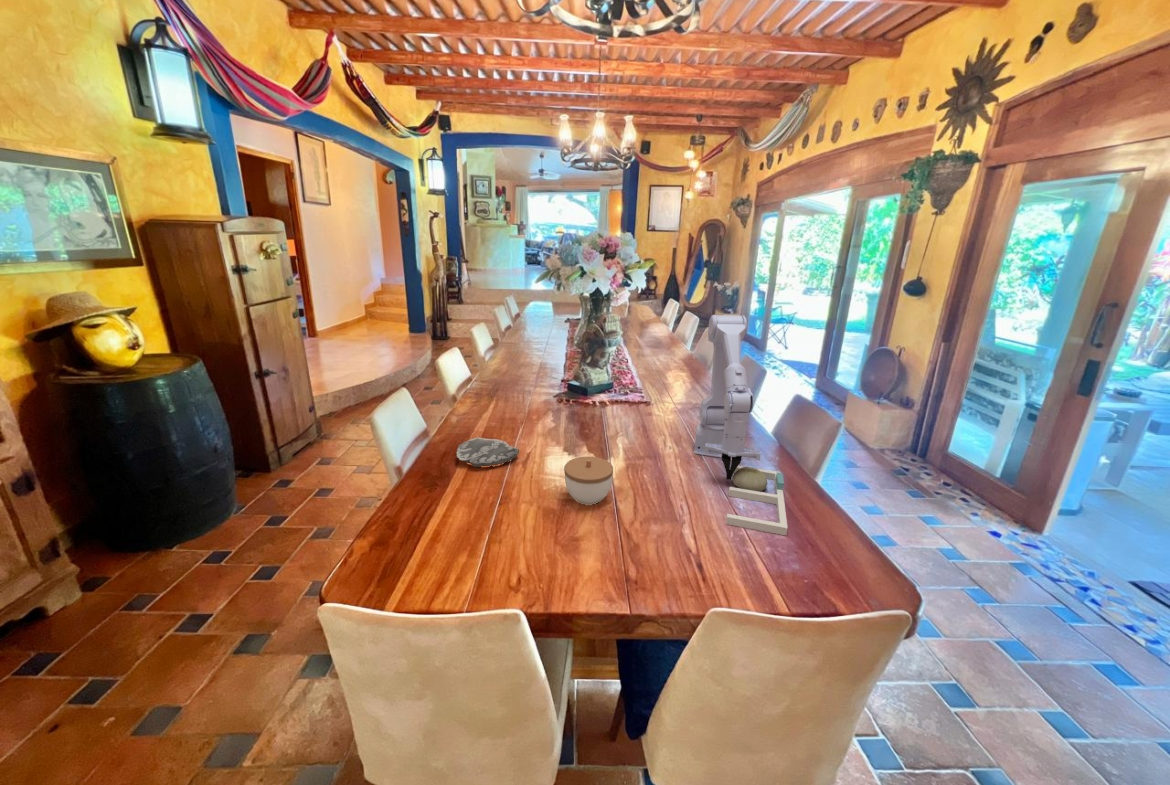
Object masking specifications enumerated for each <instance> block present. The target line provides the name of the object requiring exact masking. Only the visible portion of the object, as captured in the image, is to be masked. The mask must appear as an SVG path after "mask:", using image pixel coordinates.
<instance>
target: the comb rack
mask: <svg viewBox="0 0 1170 785" xmlns="http://www.w3.org/2000/svg"><path fill="white" fill-rule="evenodd" d="M742 467H744V466H742V465H738V466H737V468H736V469H735V471H734V473H735V472H736V471H737V470H739V469H740V468H742ZM757 469H758V470H759V471H761V472H762V473H763V474H764V475H765V477H766V478H767V480H771V481H774V491H775V493H768V492H763V491H752V490H746V489H741V488H739V487H734V486H729V488H728V489H729V490H728V497H732V498H738V499H743V500H748V501H754V502H761V503H767V504H770V505H771V504H772V505H776V509H777V510H776V512H777V522H775V521H769V520H764V519H759V518H754V517H753V518H752V517H747V516H742V515H736V514H731V513H726V522H725V525H728V526H729V525H730V526H733V527H740V528H743V529H750V530H755V531H761V532H764V533H765V532H766V533H770V534H775V535H776V534H777V535H781V536H787V534H788V529H789V528H788V520H787V513H786V504H785V496H784V486H785V481H784V474H783V472H781V471H777V470H776V471H775V470H768V469H761V468H757ZM734 473H733V475H734Z"/></svg>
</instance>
